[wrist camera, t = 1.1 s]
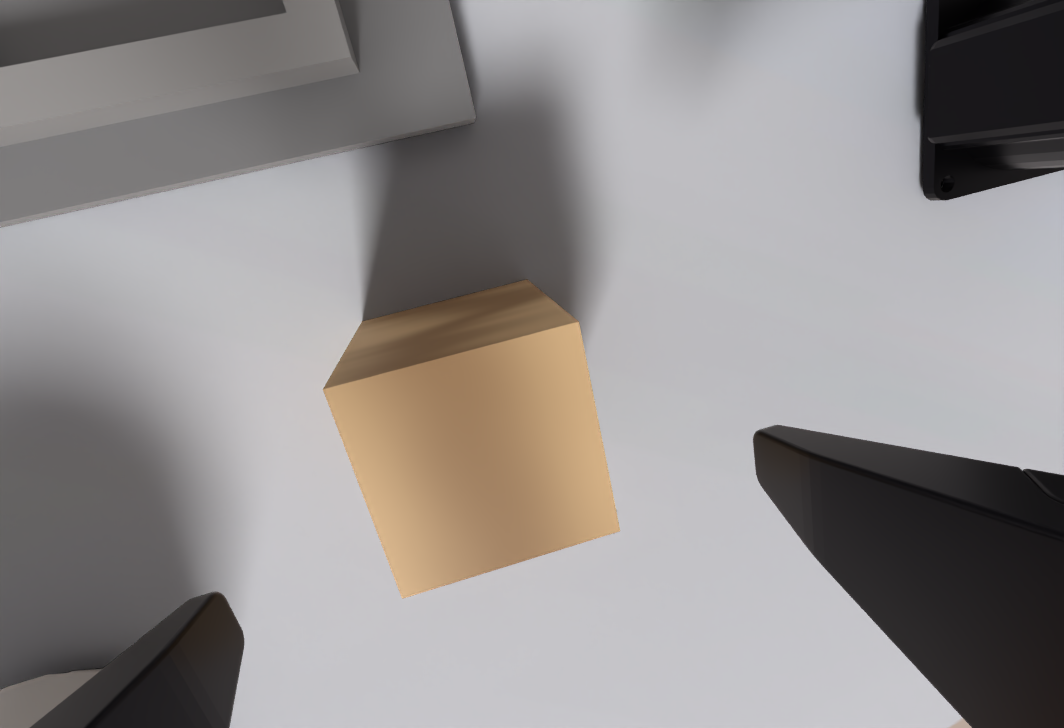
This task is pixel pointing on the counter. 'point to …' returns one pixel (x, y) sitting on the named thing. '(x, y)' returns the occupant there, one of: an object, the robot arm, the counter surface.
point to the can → (38, 697)
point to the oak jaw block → (473, 434)
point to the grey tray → (209, 91)
